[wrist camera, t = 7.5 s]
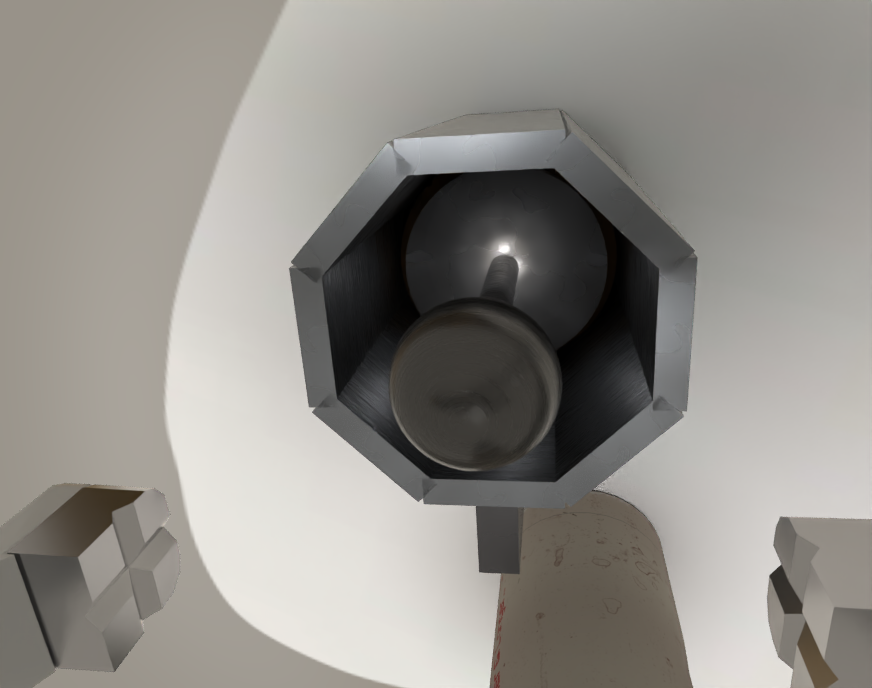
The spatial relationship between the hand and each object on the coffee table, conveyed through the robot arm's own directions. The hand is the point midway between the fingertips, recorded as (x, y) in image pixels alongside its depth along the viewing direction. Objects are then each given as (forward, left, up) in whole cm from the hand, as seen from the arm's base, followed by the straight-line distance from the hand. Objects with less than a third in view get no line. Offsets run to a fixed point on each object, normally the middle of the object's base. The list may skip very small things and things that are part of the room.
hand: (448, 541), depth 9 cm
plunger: (0, 0, -16) cm, 16 cm away
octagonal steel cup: (0, +2, -22) cm, 22 cm away
